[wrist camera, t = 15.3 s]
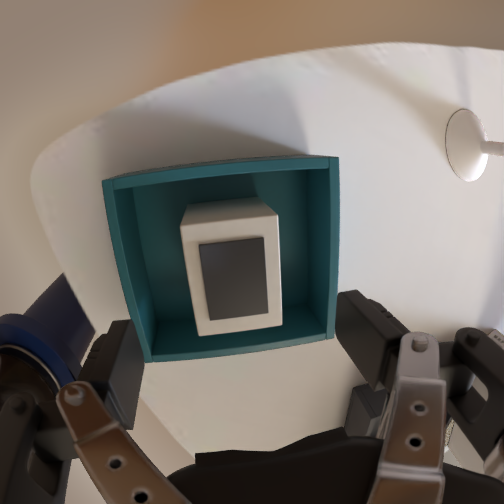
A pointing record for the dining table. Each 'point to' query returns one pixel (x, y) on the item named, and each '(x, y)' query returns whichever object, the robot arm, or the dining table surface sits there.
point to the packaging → (458, 439)
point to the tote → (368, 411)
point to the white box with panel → (233, 265)
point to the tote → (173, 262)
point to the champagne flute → (469, 145)
